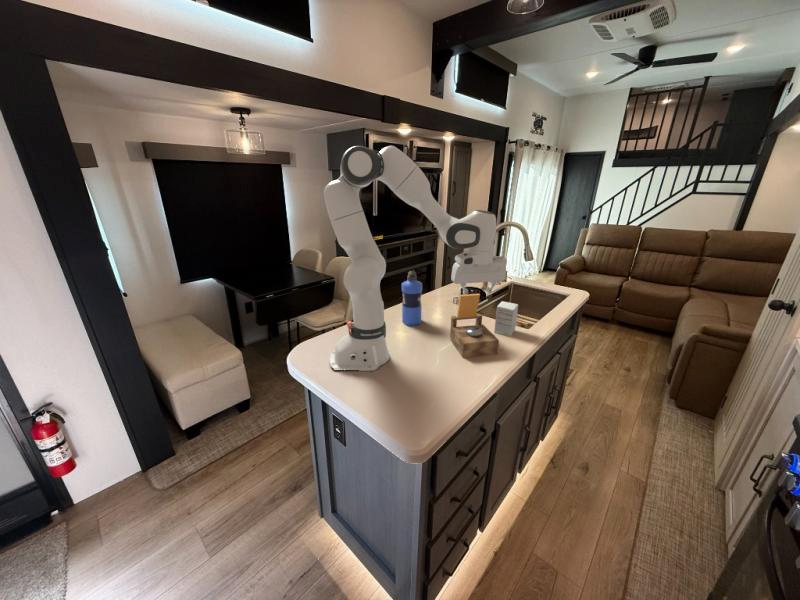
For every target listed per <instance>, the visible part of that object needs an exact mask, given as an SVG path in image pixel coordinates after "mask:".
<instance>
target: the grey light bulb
mask: <svg viewBox="0 0 800 600" xmlns="http://www.w3.org/2000/svg"><path fill="white" fill-rule="evenodd" d="M466 335H468V336H470V337H480V336H482V329H481V328H478V327H467V328H466Z"/></svg>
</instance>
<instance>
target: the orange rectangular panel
mask: <svg viewBox="0 0 800 600" xmlns="http://www.w3.org/2000/svg"><path fill="white" fill-rule="evenodd" d="M480 297H481V294H480V293H468V294H465V295H464V294H459V299H458V307H457V314H456V315H457V316H456V317H457V321H460V320H461V321H462V320H473V319H475V320H476V314H478V313H477V312H478V307H479V302H480Z"/></svg>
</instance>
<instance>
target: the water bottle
mask: <svg viewBox="0 0 800 600" xmlns="http://www.w3.org/2000/svg"><path fill="white" fill-rule="evenodd" d="M407 274H408V275H407V278H406V279H407V280H405V281H403V282H402V283H401V293H402V305H401V308H402V309H401V311H402V312H401V315H402V316H401V320H402V322H403V323H404V324H403V323H402V324H403V325H405V326H408V325H409V327H415V326H416V327H417V326H419V325H421V323H422V311H423V310H422V294H423V293H422V292H423V283H422V282H421V281H418V280H417V279H418V278H417V272H416V271H415V270H414V269H413V270H412V269H411V270H409V271H408V272H407Z"/></svg>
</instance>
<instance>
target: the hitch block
mask: <svg viewBox="0 0 800 600" xmlns="http://www.w3.org/2000/svg"><path fill="white" fill-rule="evenodd" d="M450 318H451V319H450V330H449V331H450V335H449V337H450V342H451V343H452V345H453V346H454V347H455V349H456V351H457V352H458V353H459V355H460V356H461V358H470V357H471V358H472V357H481V356H490V355H497V354H498V349H499V344H500V343H499V342H500V340H499V338H498V337H496V336H495V335H494V334H493V332H492V331H490V330H489V328H487V327H486V326H485V324H483V315H482V314H481V313H477V314H476V318H475V324H474V325H462V326H458V325H457V324H458V323H457V322H458V320H457V316H456V315H451V316H450ZM467 327H478V328H481V329H482V336H480V337H470V336H468V335H466V328H467Z"/></svg>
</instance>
